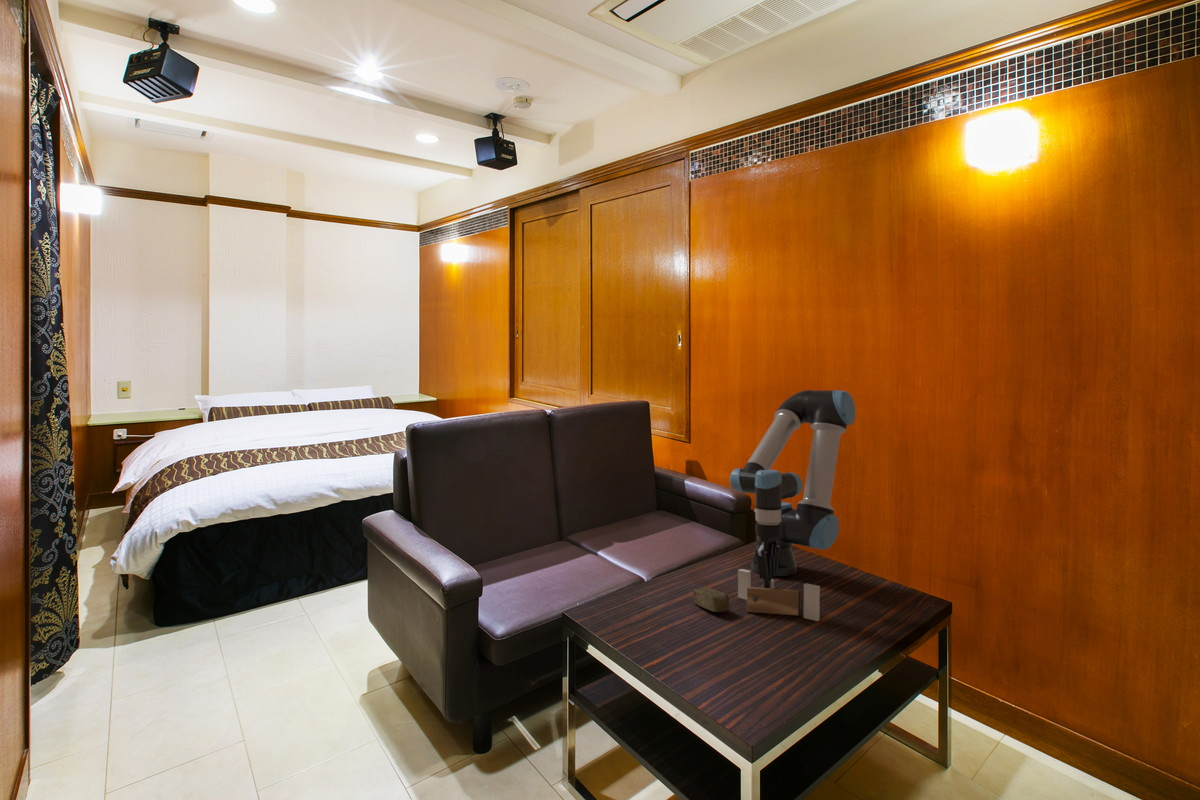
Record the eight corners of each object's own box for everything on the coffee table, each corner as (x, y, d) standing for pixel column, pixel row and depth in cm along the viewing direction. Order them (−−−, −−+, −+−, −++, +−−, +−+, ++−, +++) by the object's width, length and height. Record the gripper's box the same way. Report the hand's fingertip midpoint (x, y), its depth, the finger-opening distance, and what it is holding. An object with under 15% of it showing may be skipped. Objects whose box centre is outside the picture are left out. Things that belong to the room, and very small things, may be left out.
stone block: (715, 614, 169) (714, 597, 169) (691, 604, 179) (691, 588, 179) (731, 611, 172) (730, 593, 172) (706, 601, 182) (706, 585, 182)
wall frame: (740, 598, 185) (740, 568, 184) (819, 619, 168) (820, 586, 168) (737, 600, 183) (737, 570, 183) (817, 621, 167) (817, 588, 166)
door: (746, 611, 174) (746, 586, 174) (802, 614, 171) (802, 589, 171) (747, 614, 171) (747, 589, 171) (803, 618, 169) (804, 592, 168)
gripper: (766, 516, 182) (766, 592, 182) (746, 524, 172) (747, 603, 173) (789, 520, 177) (789, 597, 177) (770, 528, 167) (771, 609, 168)
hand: (768, 600), depth 175 cm, fingers closed
